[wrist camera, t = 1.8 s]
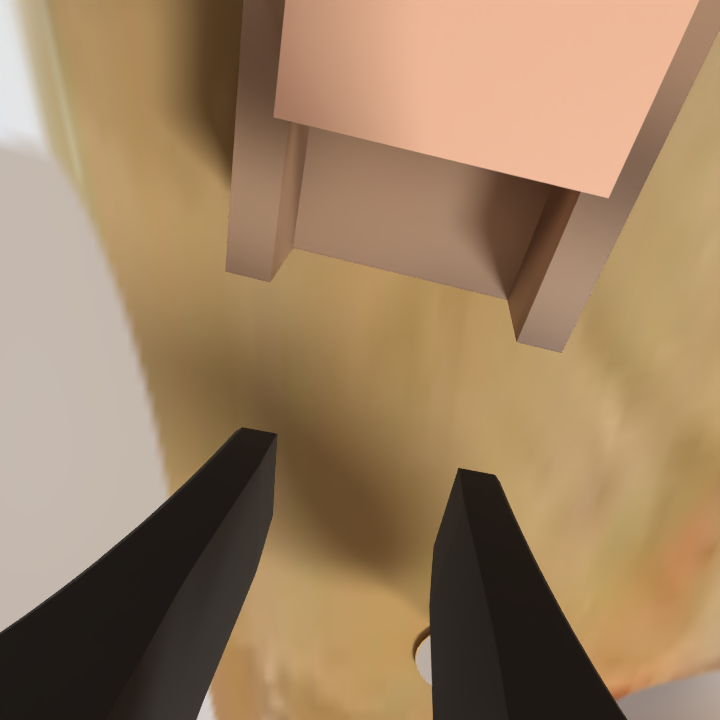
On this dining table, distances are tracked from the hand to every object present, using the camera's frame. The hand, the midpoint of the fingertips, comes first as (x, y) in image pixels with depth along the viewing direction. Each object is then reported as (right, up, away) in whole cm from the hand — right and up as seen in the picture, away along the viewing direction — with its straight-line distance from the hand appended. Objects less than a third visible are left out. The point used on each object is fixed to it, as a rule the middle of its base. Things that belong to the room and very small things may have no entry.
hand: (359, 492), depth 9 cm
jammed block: (+3, +11, +3) cm, 11 cm away
